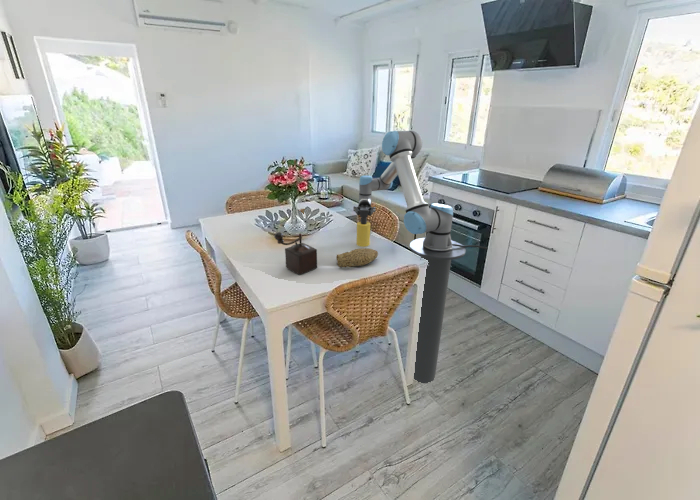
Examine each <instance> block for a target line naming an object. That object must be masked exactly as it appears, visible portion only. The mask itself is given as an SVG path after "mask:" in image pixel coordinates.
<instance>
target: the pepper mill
mask: <svg viewBox="0 0 700 500" xmlns="http://www.w3.org/2000/svg"><path fill="white" fill-rule="evenodd" d="M273 237H274V239H275V240H276V241H277V244H279V245H283V246H289V245H291V246H289V247H285V248H284V254H285V268H286V269H288V270H289V271H291V273H294V274H297V275H299V276H300V275H304V274H306V273H309V272H311V271H313V270H315V269H317V268H318V250H317V248H315V247H313V246H311V245H309V244H306V243H304V242H302V238H303V234H302V233H299V234H298V238H296V239H294V240H293V241H290V242H285V241H284V239H283V238H284V233H283V232H281V231H279V232H278V231H277V232H276V233H275V234H274V236H273ZM298 242H299V243H298Z"/></svg>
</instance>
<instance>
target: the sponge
mask: <svg viewBox="0 0 700 500" xmlns="http://www.w3.org/2000/svg"><path fill="white" fill-rule="evenodd" d="M378 257H379V251H378V250H376V249H373V248H371V247H369V248H368V247H365V248H364V247H362V248H355V249H352V250H350V251H346V252H342V253H338V254H336V257H335V258H336V263H337V267H338V268H340V269H341V268H351V267H359V266H360V267H361V266H365V265H368V264H370V263H372V262H374V261H375V260H376V259H377V258H378Z"/></svg>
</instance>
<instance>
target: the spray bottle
mask: <svg viewBox="0 0 700 500" xmlns="http://www.w3.org/2000/svg"><path fill="white" fill-rule="evenodd" d="M359 217H360V221H358V222H356V240H355V241H356V242H355V243H356V246H357V247H362V248H364V247H365V248H367V247H368V246H370V244H371V223H370V222H369V221H368V217H369V215H368V208H363V207H360V215H359Z"/></svg>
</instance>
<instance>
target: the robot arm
mask: <svg viewBox="0 0 700 500" xmlns="http://www.w3.org/2000/svg"><path fill="white" fill-rule="evenodd" d="M422 138H423V137H422V136H421V134H419V133H418V132H417V131H415V130H391V131H387V132H386V133H385V134H384V135H383V138H382V142H381V150H382V152H383V155H385V156H387V157H389V161H390V163H389V165H388V166H387V168H386V169H385V170H384V171H383V173H381V175H380V177H373V176H372V175H361V176H360V177H359V182H358V184H359V186H358V187H359V189H358V191H359V194H358V205H357V206H353V210H352V211H353V212H355V214H356V216H360V207H363V208H368V217H371V216H372V215H373V213H376V209H377V207H376V206H375V207H374V206H373V207H372V192H377V191H387V190H389V189H391V188H392V187H393V183H394V180H395V179H396V178H397V177H398V180H399V184H400V186H401V190H402V194H403V197H404V200H405V203H406V208H405V214H404V216H403V224H404V227H405V229H406V230H407V231H408V232H409V233H411V234H412V235H422V234H424V233H425V234H426V235H425V237H424V238H425V239H424V240H423V241H424V242H423V247H424V248H426V249H427V250H430V251H435V252H447V251H450V250H451V249H452V246H458V247H465V248H479V249H483V250H488V247H486V246H482V245H475V244H468V245H463V244H461V245H457V244H452V241H453V240H452V235H451V231H452V226H453V225H452V223H453V218H454V208H453V207H452V206H450V205H446V204H443V203H430V206H429V203H428V202H426V201H425V200H424V197H423V194H422V190H421V187H420V183H419V180H418V177H417V173H416V171H415V167H414V164H413V160H414V159H415V158H416V157H417V156H418V155H419V154H420V152H421V150H422V148H423V139H422ZM451 240H452V241H451Z"/></svg>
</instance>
